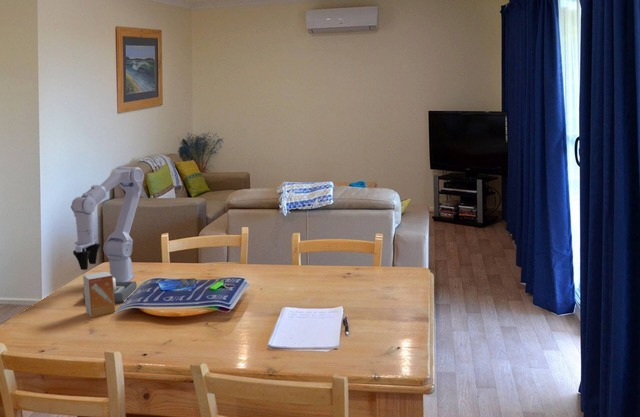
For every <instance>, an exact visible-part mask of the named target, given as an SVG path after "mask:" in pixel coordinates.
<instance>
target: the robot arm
mask: <svg viewBox="0 0 640 417" xmlns="http://www.w3.org/2000/svg"><path fill="white" fill-rule="evenodd" d="M144 178H145V174H144V172H143V170H142V169H141V168H140V167H138V166H137V167H136V166H134V167H133V166H132V167H131V166H123V165H121V166H117V167H116V168H115V169H113V170H112V173H111V174H110V176H108V177H107V178H106V179H105V180H104V181H103V182H102V183H101V184H95V185H92V186H90V189H89V190H87V191H86V192H84V193H82V195H81V196H77V197H75V198H74V199H73V200H72V201H71V205H70V209H71V210H72V212H73V216H74V217H75V223H76V235H77V236H76V237H77V241H75V242H74V245H76V246H75V250H73V251H72V253H73V256H74V257H75V258H76V260H77V262H78V265H79V268H80V270H82V271H86V270H88V269H89V268H88V267H89V265H96V262H97V258H98V252H99V250H100V247H101V243H98V237H95V230H94V219H93V218H94V217H93V212H94V211H95V209H96V207H97V205H98V204H99V203H100V202H102V200H104V199H105V198H106V197H107V193H108V192H110V190H112V189H114V187H116V186H118V185H119V186H120V188H122V190H124V192H125V193H124V196H123V197H124V198H123V201H122V205H121V208H120V212H119V215H118V218H117V222H116V226H115V229H114V231H113V232H112V233H110V234H109V235H108V237H107V239H106V241H105V242H104V244H103V252H104V255H106V256H107V258H106V259H108V264H109V273H110V274H112V276H113V277H114V278H115V280H116V281H131V280H133V278H134V277H135V276H136V274H133V263H132V262H133V261H132V259H131V255H132V253H133V243H134V240H133V238H132V237H131V236H130V233H131V228H132V225H133V222H134V219H135V215H136V211H137V207H138V204H139V200H140V197H141V193H142V187H143V182H144Z"/></svg>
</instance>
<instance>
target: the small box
mask: <svg viewBox="0 0 640 417" xmlns="http://www.w3.org/2000/svg"><path fill="white" fill-rule="evenodd" d="M82 281H83V289H84V291H83V293H84V292H85V313H86V314H87V315H88V316H89V317H90V318H93V317H99V316H104V315H110V314H115V313H116V305H115V304H116V303H115V302H114V289H113V276H112V275H111V274H110V272H108V271H100V272H95V273H90V274H84V275H82ZM114 312H115V313H114Z"/></svg>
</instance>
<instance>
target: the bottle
mask: <svg viewBox="0 0 640 417" xmlns="http://www.w3.org/2000/svg"><path fill="white" fill-rule="evenodd" d="M111 275H112V274H111ZM113 289H114V292H116V280H115V278H114V277H113Z"/></svg>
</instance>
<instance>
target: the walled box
mask: <svg viewBox="0 0 640 417" xmlns="http://www.w3.org/2000/svg"><path fill="white" fill-rule="evenodd" d="M136 288H137V289H138V287H137V281H134V280H133V281H131V280H130V281H116V292H114V302H115V304H124V303H125V302H124V300H125V299H126V298H127V297H128V296H129V295H130V294H131V293H132V292H133V291H134V290H135V289H136ZM123 302H124V303H123ZM83 303H85V292H84V291H83Z"/></svg>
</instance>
